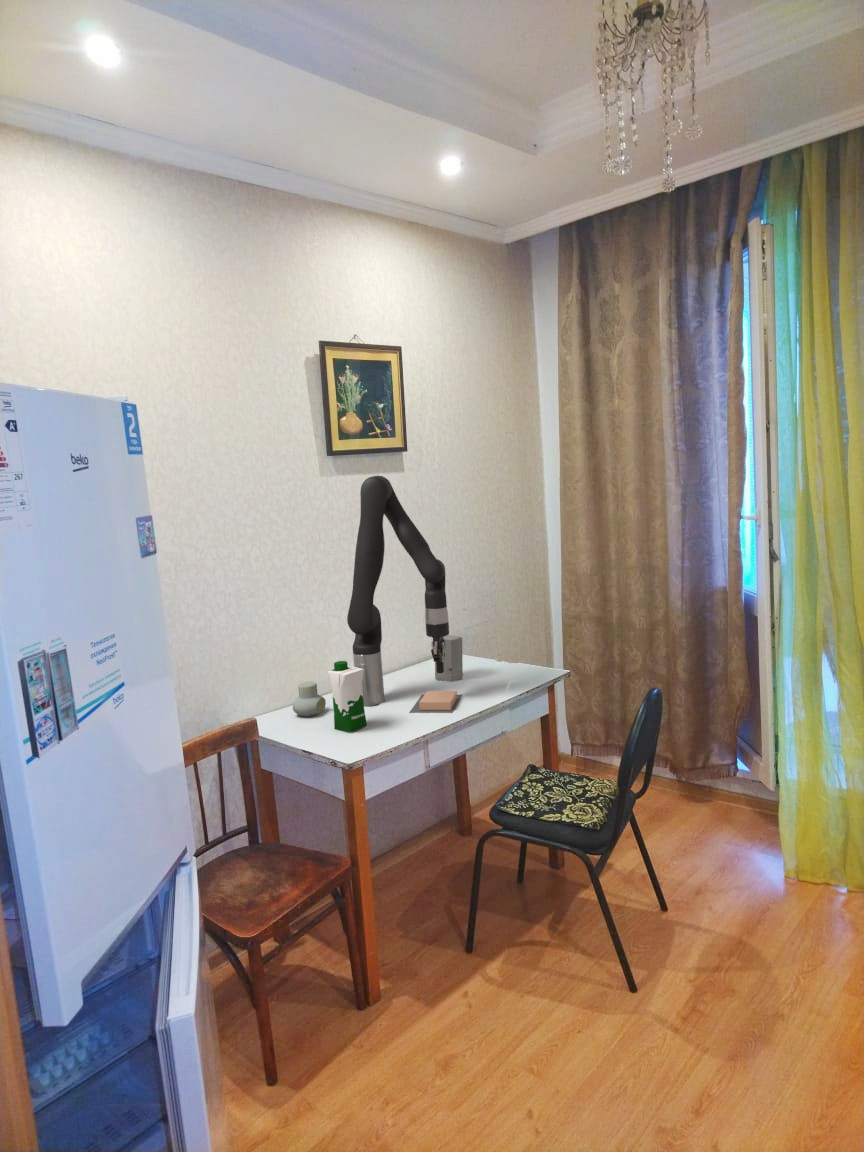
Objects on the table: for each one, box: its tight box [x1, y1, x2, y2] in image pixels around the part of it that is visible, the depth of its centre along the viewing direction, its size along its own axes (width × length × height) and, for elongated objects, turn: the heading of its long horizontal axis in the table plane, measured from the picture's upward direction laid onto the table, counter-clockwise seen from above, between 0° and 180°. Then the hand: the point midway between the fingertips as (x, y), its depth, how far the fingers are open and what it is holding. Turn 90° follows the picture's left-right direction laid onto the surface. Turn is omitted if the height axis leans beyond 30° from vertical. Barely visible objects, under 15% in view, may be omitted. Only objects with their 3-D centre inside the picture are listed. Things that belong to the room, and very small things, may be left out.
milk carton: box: [327, 660, 368, 734], centre depth 228 cm, size 9×9×20 cm
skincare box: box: [434, 634, 464, 683], centre depth 274 cm, size 8×7×16 cm
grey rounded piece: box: [292, 681, 326, 717], centre depth 245 cm, size 11×8×10 cm
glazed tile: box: [419, 690, 458, 710], centre depth 244 cm, size 10×3×12 cm
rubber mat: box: [408, 693, 463, 714], centre depth 246 cm, size 14×19×1 cm
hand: (440, 672), depth 249 cm, fingers closed
